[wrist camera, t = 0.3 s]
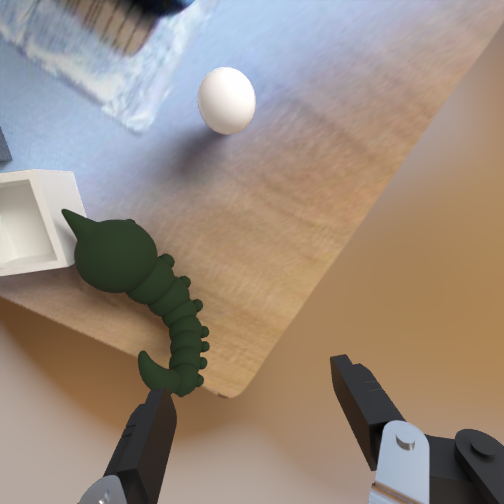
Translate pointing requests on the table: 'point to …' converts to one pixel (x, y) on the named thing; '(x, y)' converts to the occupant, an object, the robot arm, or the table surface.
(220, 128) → the lightbulb
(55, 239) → the bin
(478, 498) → the robot arm
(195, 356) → the toy figurine
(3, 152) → the socket collar
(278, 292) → the table surface
